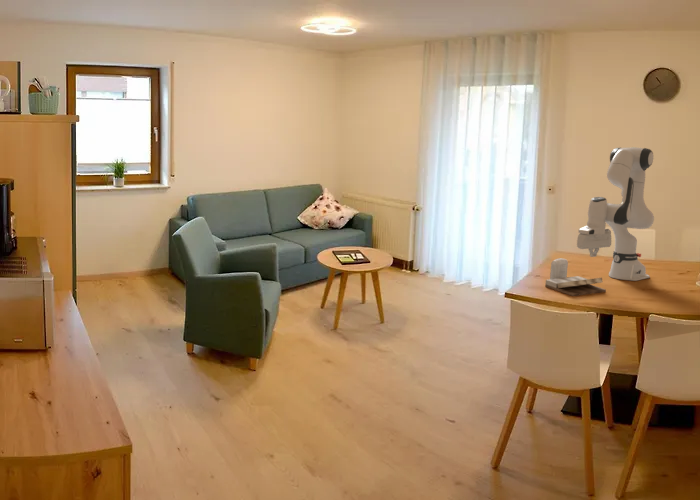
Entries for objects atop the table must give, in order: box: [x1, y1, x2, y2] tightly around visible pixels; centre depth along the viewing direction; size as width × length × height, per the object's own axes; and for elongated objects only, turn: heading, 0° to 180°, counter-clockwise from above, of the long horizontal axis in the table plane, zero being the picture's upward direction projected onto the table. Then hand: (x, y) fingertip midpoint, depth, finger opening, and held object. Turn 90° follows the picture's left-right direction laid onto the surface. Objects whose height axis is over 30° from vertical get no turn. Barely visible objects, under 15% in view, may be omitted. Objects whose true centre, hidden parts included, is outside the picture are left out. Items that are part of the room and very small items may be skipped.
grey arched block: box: [549, 257, 569, 279], centre depth 372 cm, size 10×4×12 cm, turn 123°
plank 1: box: [557, 280, 586, 288], centre depth 351 cm, size 11×9×2 cm
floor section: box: [544, 275, 607, 297], centre depth 357 cm, size 22×20×4 cm
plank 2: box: [579, 277, 603, 286], centre depth 356 cm, size 11×9×2 cm
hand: (593, 256), depth 351 cm, fingers closed
